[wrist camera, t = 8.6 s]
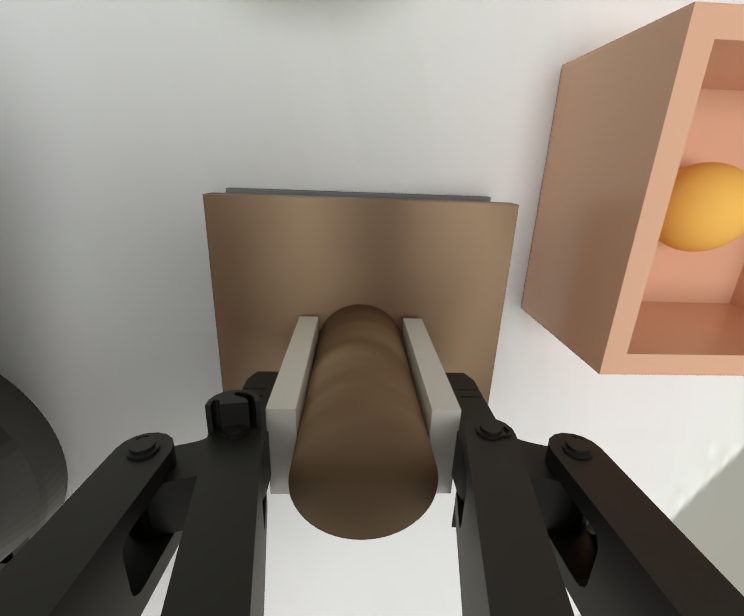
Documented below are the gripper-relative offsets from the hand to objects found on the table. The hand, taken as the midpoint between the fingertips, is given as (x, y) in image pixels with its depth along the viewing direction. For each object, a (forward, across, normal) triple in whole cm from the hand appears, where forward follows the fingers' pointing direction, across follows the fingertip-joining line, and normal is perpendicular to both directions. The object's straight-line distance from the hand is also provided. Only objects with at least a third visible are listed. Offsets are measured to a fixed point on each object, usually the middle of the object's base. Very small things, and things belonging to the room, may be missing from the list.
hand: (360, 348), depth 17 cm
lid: (+1, 0, 0) cm, 1 cm away
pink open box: (+4, +14, +6) cm, 16 cm away
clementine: (+3, +14, +6) cm, 15 cm away
